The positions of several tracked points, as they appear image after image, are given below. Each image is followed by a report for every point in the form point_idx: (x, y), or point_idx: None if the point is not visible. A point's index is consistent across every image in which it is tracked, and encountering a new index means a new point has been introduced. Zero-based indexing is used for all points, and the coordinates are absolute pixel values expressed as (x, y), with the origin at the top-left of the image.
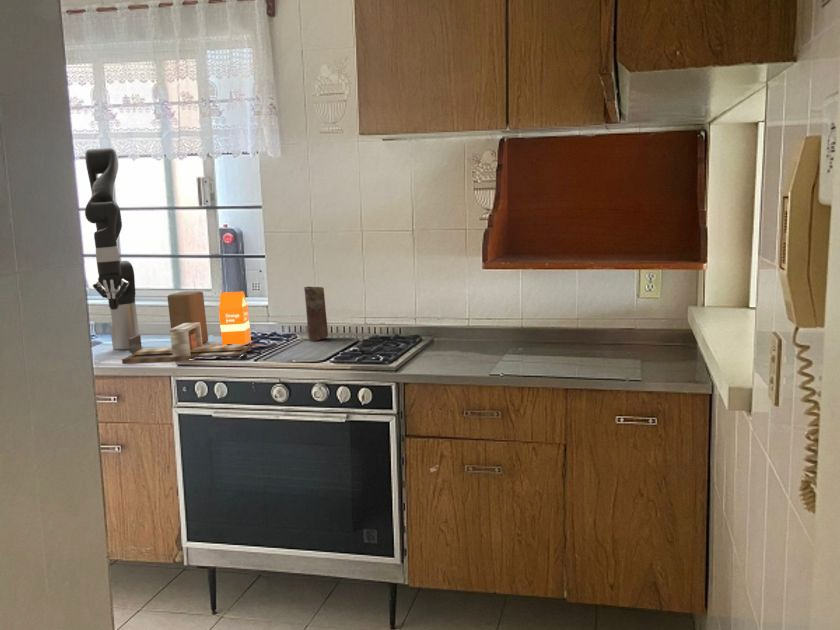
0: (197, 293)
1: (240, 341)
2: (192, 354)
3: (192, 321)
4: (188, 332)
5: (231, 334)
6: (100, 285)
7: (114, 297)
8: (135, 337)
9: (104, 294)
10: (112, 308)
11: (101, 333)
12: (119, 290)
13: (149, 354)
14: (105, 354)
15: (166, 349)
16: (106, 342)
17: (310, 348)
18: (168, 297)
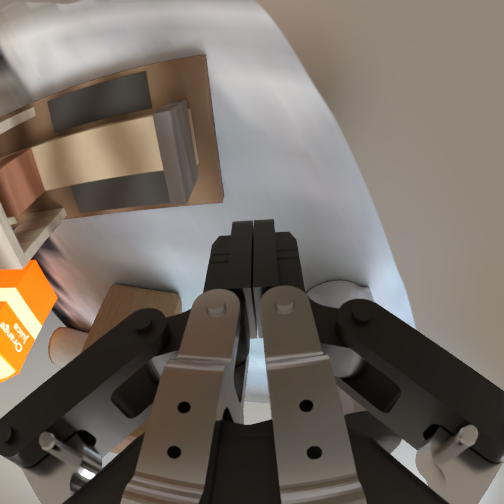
0: None
1: (2, 271)
2: (3, 141)
3: (86, 339)
4: (25, 240)
5: (4, 282)
6: (433, 462)
7: (205, 303)
8: (161, 154)
9: (354, 334)
10: (257, 222)
11: None
12: (102, 376)
13: None
14: (369, 228)
15: (73, 155)
16: None
17: None
18: (140, 431)
